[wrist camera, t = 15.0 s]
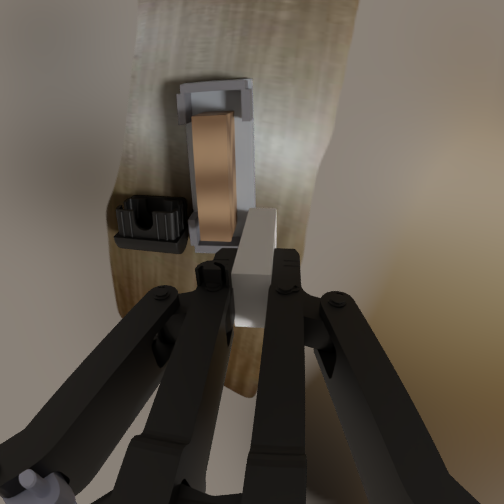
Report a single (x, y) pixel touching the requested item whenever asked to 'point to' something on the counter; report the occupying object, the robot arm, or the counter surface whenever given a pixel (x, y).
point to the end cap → (153, 224)
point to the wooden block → (215, 174)
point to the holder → (241, 102)
